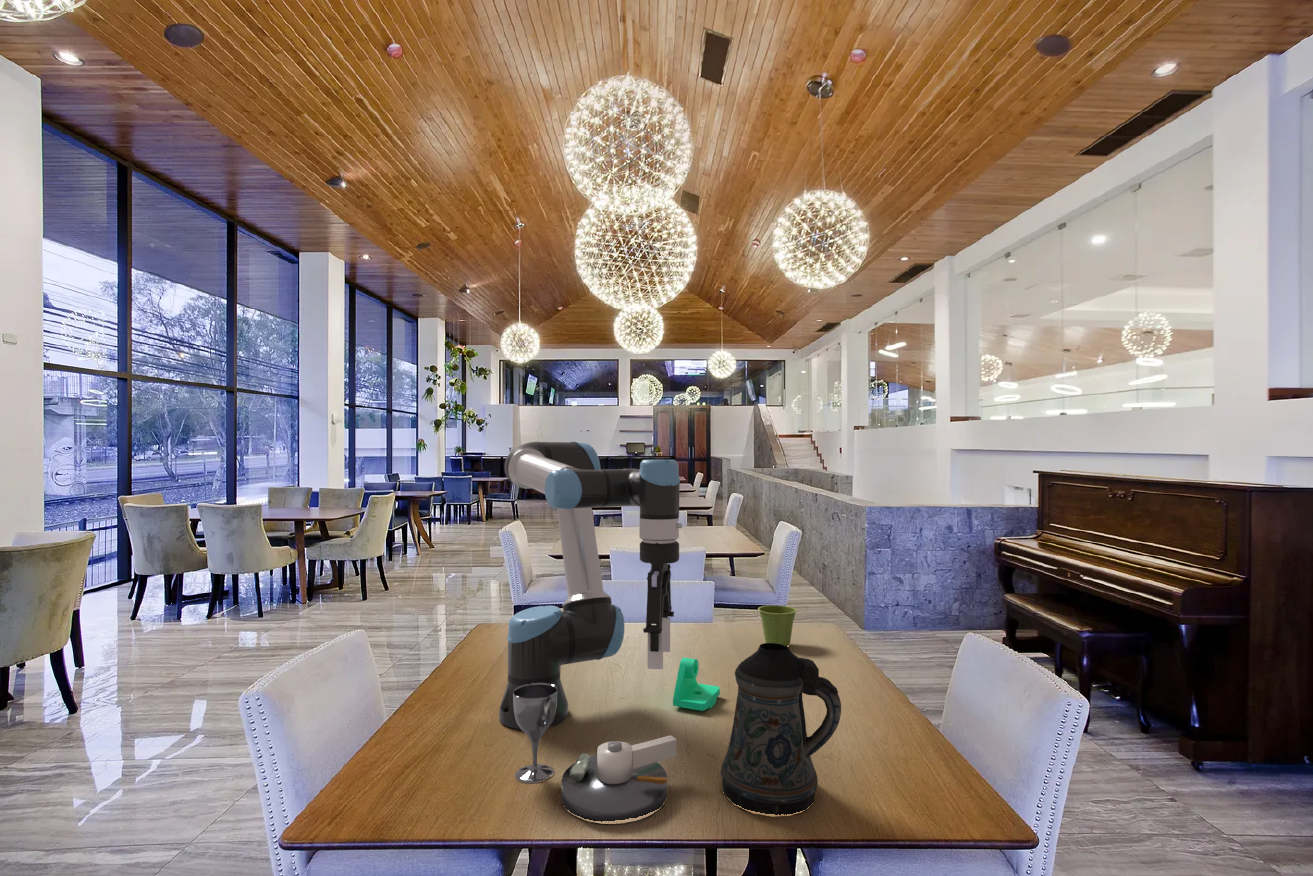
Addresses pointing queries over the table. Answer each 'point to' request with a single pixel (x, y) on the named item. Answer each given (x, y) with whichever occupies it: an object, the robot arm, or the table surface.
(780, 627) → the plant pot
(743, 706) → the beer stein
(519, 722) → the wine glass
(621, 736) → the table surface
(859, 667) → the table surface
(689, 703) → the camera mount
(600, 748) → the knob
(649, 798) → the base
